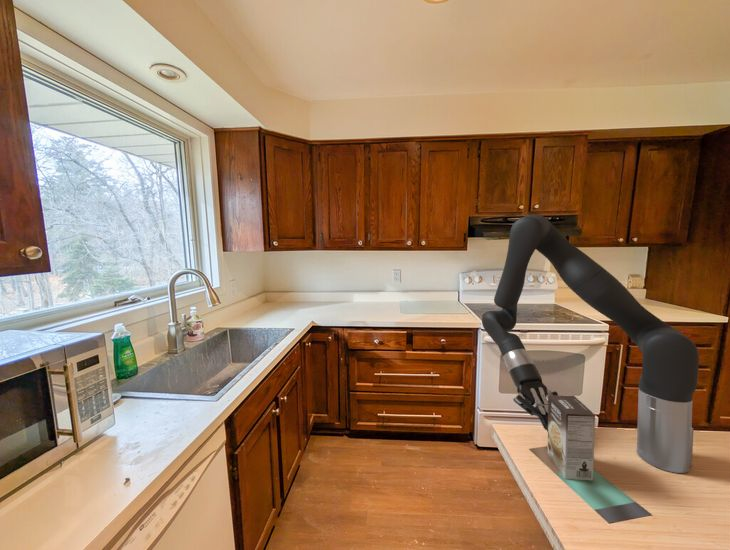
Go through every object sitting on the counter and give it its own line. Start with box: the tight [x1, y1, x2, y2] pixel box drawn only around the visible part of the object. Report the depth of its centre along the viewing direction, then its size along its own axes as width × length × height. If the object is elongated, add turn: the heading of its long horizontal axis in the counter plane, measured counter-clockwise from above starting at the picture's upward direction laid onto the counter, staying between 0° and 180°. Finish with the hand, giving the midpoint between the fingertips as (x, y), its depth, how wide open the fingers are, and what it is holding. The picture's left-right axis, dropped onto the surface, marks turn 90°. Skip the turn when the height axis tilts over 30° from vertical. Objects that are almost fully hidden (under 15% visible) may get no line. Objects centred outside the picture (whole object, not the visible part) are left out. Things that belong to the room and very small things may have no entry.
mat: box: [528, 445, 653, 524], centre depth 68 cm, size 10×22×1 cm, turn 9°
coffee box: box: [547, 394, 596, 481], centre depth 71 cm, size 9×6×16 cm
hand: (552, 431), depth 76 cm, fingers closed
